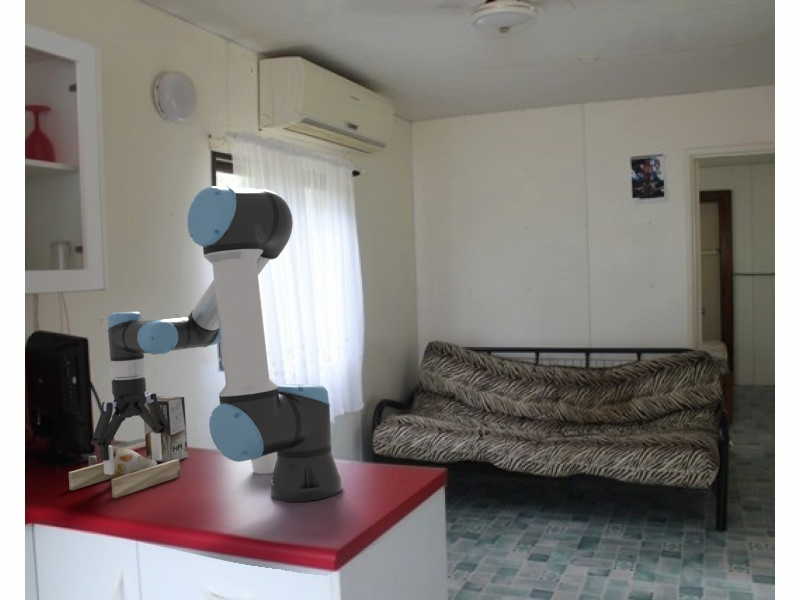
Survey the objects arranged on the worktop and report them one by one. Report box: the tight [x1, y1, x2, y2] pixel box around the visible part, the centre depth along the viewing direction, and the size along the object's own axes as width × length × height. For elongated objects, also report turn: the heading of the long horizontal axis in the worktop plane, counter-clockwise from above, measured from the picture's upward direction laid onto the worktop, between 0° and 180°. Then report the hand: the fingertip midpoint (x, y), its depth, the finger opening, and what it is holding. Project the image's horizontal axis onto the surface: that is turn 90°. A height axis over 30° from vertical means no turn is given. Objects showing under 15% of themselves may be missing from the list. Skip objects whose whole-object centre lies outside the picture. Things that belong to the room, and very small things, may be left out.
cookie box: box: [143, 396, 189, 463], centre depth 192 cm, size 9×6×16 cm
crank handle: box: [88, 455, 98, 467], centre depth 181 cm, size 10×2×5 cm, turn 149°
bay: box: [68, 459, 181, 499], centre depth 171 cm, size 16×18×4 cm
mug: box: [113, 448, 158, 478], centre depth 173 cm, size 8×10×10 cm
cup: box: [250, 452, 277, 475], centre depth 176 cm, size 9×9×12 cm
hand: (134, 466), depth 173 cm, fingers open, 13 cm apart
